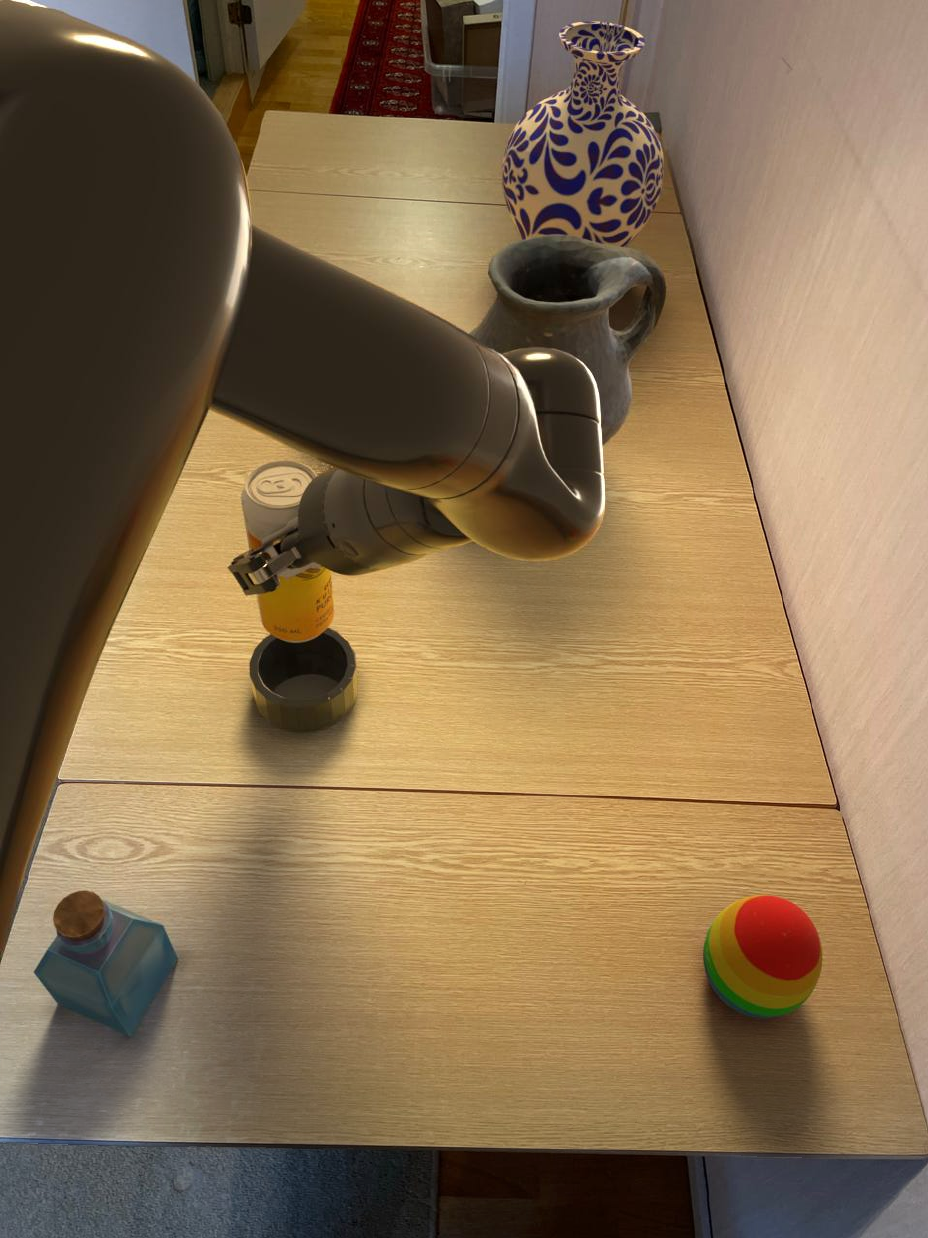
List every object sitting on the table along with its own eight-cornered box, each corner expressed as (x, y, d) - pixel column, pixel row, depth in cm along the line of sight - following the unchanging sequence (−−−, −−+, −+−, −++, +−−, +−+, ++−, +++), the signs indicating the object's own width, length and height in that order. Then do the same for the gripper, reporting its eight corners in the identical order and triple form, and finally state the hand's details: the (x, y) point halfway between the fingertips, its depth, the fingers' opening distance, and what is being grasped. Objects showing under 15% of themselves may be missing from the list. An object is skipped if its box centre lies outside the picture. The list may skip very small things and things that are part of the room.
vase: (613, 324, 132) (659, 88, 109) (469, 280, 137) (484, 46, 114) (662, 252, 145) (712, 28, 122) (528, 214, 150) (552, -7, 127)
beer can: (337, 643, 81) (326, 508, 70) (262, 651, 80) (239, 514, 69) (331, 590, 85) (320, 453, 74) (260, 596, 84) (238, 459, 73)
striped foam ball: (681, 1002, 74) (713, 951, 66) (708, 908, 79) (741, 850, 71) (788, 1050, 72) (834, 1002, 64) (809, 950, 77) (854, 895, 69)
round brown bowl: (361, 727, 88) (360, 701, 85) (255, 737, 87) (250, 712, 84) (353, 646, 94) (351, 619, 91) (253, 654, 93) (248, 627, 90)
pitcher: (436, 399, 119) (443, 200, 100) (610, 397, 122) (650, 201, 103) (449, 516, 106) (461, 313, 87) (645, 511, 108) (698, 312, 89)
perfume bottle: (57, 1003, 71) (7, 938, 62) (107, 927, 75) (67, 855, 66) (130, 1037, 70) (90, 976, 61) (178, 958, 74) (147, 889, 65)
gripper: (425, 411, 66) (318, 463, 80) (261, 515, 59) (174, 553, 73) (479, 506, 68) (365, 541, 82) (326, 619, 61) (230, 637, 75)
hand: (276, 547), depth 78 cm, fingers closed on beer can, 6 cm apart
